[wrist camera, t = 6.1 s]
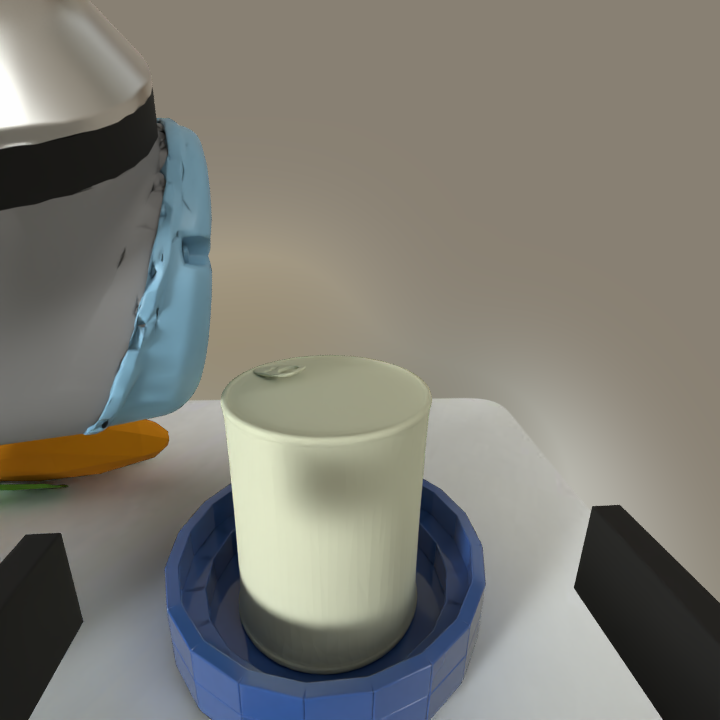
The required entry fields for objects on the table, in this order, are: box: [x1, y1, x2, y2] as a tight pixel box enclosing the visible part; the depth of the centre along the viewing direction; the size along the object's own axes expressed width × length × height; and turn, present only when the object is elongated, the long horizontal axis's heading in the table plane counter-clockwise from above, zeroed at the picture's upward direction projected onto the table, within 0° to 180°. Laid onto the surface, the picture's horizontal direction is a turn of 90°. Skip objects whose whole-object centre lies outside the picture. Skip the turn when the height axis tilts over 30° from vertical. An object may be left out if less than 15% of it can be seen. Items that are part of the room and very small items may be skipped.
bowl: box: [165, 479, 486, 720], centre depth 23 cm, size 15×15×4 cm
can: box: [221, 355, 432, 675], centre depth 21 cm, size 9×9×12 cm
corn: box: [0, 419, 169, 490], centre depth 31 cm, size 7×8×20 cm
